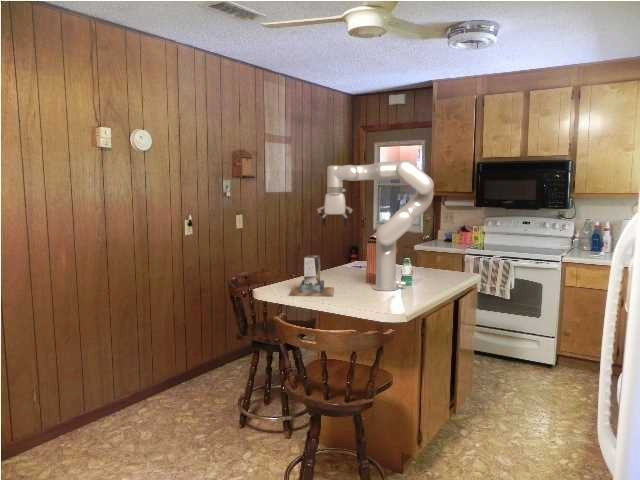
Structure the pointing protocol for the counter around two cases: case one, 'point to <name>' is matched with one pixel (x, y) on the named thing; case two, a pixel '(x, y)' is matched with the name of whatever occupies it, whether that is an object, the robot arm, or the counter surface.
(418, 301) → the counter surface
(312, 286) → the dock
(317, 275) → the coffee box
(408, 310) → the counter surface
